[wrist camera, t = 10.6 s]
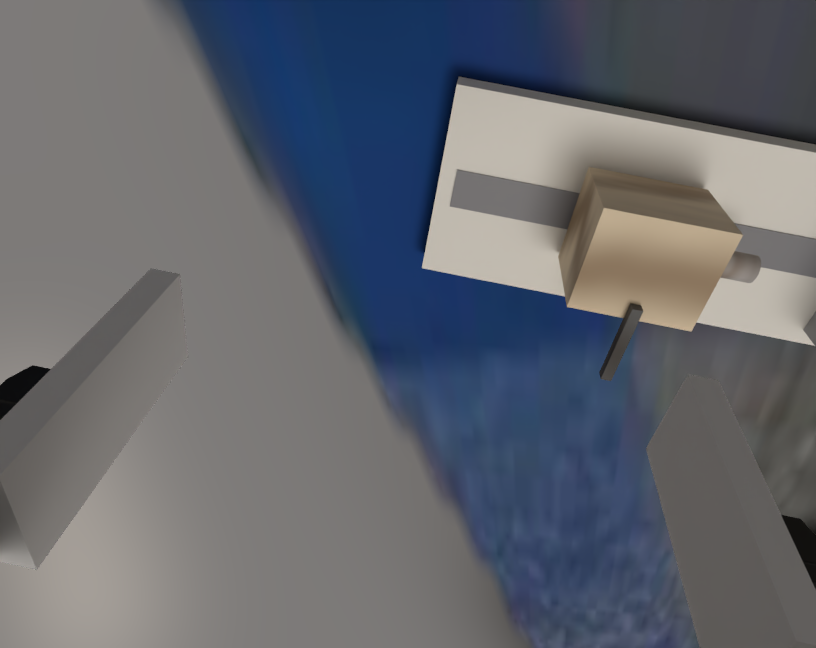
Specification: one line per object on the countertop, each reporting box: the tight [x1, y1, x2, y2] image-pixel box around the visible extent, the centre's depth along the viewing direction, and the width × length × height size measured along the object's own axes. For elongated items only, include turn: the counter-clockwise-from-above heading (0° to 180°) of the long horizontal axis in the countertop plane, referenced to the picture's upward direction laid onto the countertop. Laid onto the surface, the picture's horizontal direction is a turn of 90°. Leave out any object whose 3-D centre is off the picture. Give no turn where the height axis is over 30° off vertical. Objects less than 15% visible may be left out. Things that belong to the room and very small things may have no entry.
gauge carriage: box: [558, 167, 761, 381], centre depth 34 cm, size 10×10×7 cm
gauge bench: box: [422, 77, 816, 347], centre depth 33 cm, size 12×30×10 cm, turn 81°
